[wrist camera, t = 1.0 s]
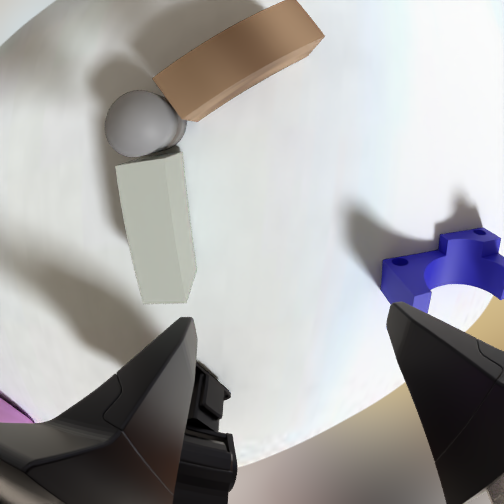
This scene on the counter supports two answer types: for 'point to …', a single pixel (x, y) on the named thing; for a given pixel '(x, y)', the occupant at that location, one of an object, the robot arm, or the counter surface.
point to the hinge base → (237, 61)
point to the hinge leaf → (153, 196)
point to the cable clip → (446, 268)
